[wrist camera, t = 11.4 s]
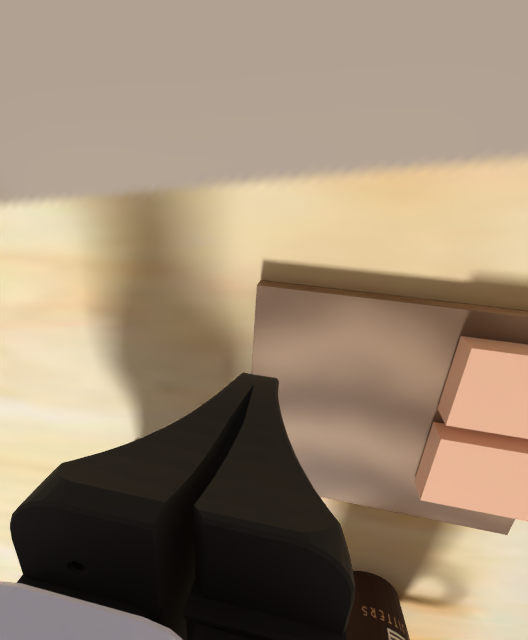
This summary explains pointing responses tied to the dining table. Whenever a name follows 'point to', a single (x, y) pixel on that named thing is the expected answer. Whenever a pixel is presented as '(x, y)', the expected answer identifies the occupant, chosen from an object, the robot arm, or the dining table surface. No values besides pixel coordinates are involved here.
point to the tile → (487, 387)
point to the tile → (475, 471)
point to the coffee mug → (375, 610)
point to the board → (369, 386)
